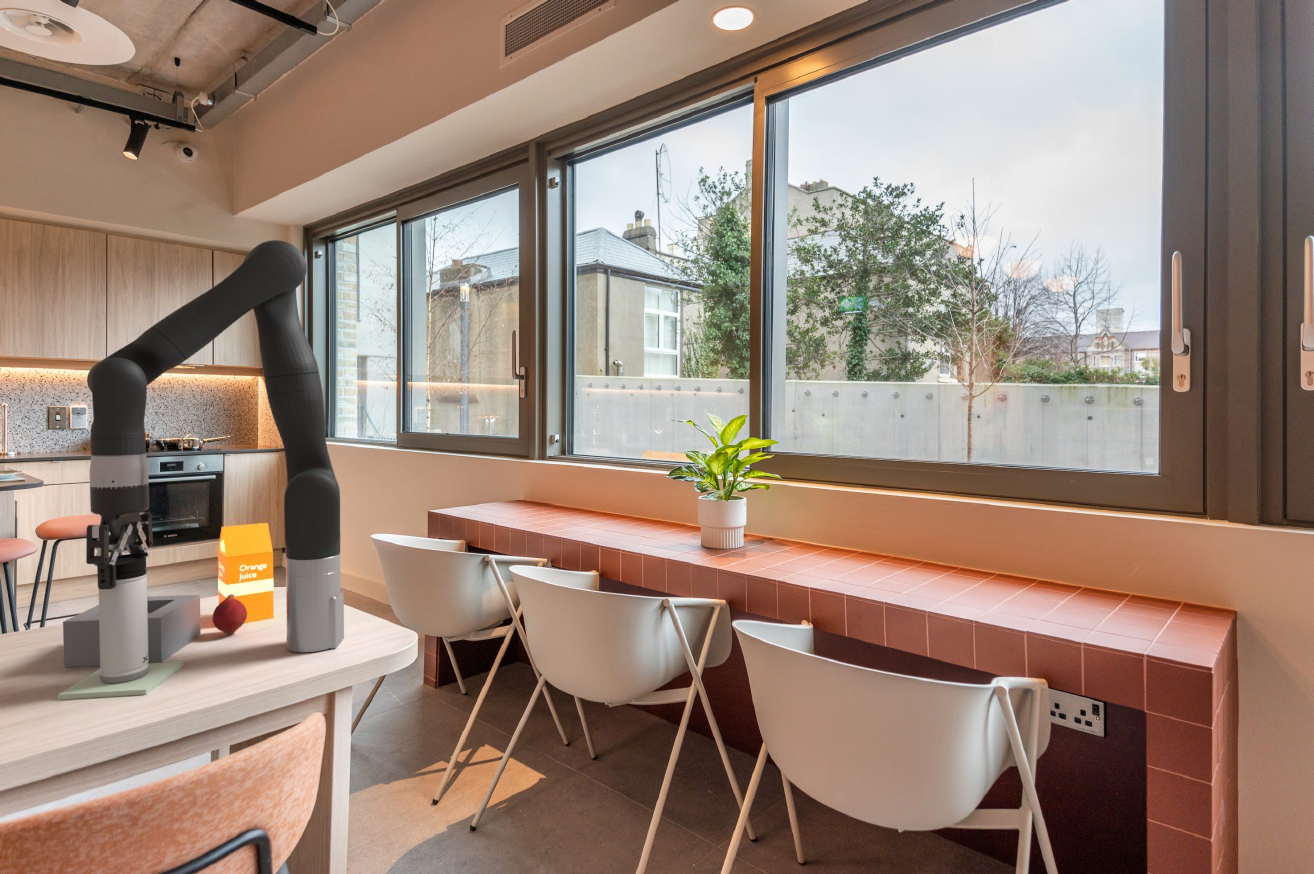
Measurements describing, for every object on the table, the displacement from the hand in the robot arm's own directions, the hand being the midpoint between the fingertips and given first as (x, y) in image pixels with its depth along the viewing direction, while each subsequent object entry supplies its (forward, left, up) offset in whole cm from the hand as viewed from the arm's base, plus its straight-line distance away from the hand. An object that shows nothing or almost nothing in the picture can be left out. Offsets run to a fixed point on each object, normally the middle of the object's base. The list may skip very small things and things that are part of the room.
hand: (122, 581), depth 113 cm
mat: (0, 0, -17) cm, 17 cm away
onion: (-7, -23, -17) cm, 29 cm away
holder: (+6, -16, -17) cm, 24 cm away
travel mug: (0, 0, -16) cm, 16 cm away
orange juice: (-6, -34, -17) cm, 38 cm away
